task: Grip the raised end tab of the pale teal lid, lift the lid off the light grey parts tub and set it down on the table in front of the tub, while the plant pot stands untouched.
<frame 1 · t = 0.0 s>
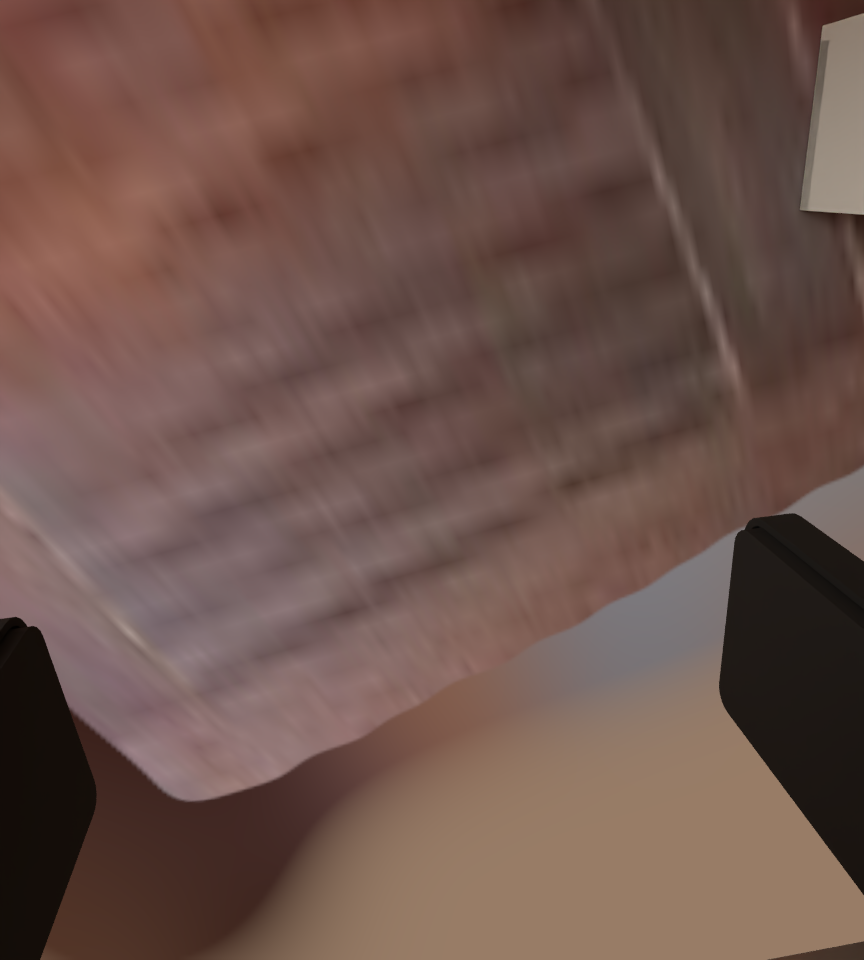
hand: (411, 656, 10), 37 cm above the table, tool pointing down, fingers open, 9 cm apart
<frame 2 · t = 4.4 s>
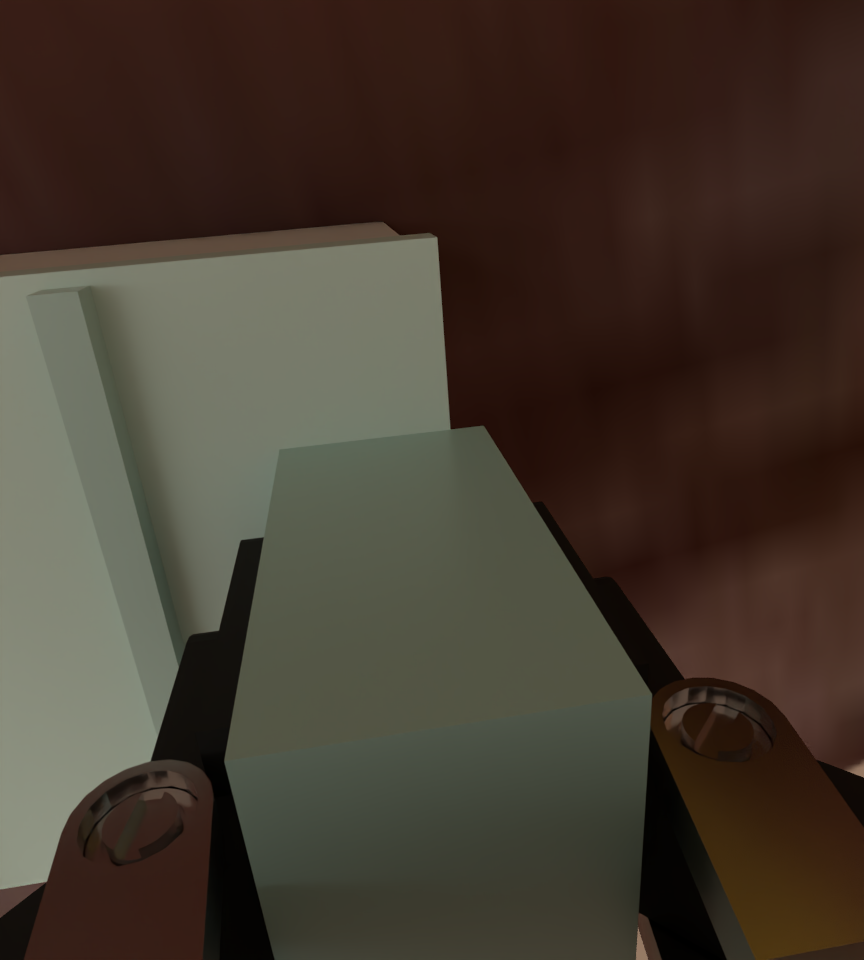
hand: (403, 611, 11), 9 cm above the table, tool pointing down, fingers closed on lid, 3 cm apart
tub: (126, 455, 18), on the table
lid: (15, 609, 12), point 7 cm above the table, touching gripper, tub
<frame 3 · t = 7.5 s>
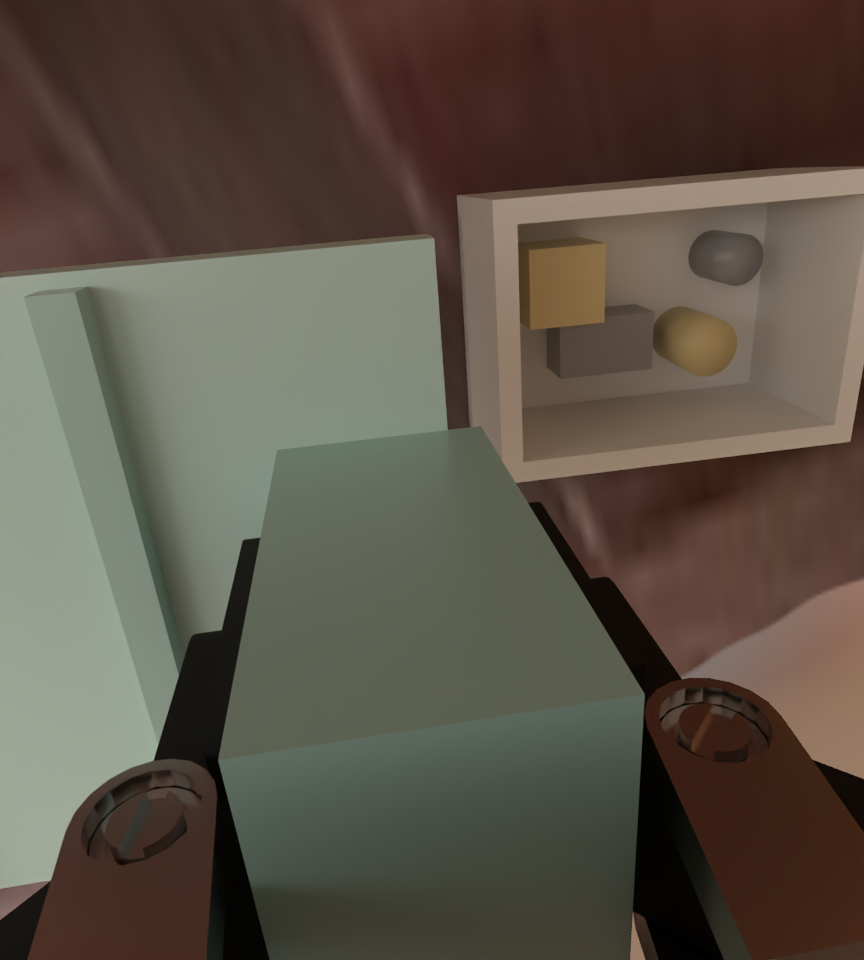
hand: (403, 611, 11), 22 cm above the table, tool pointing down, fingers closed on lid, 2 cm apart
tub: (617, 302, 32), on the table
lid: (14, 609, 12), point 20 cm above the table, touching gripper
when the fingers open (4 cm above the table, at t = 10.6 s): lid drops 1 cm, point 1 cm above the table.
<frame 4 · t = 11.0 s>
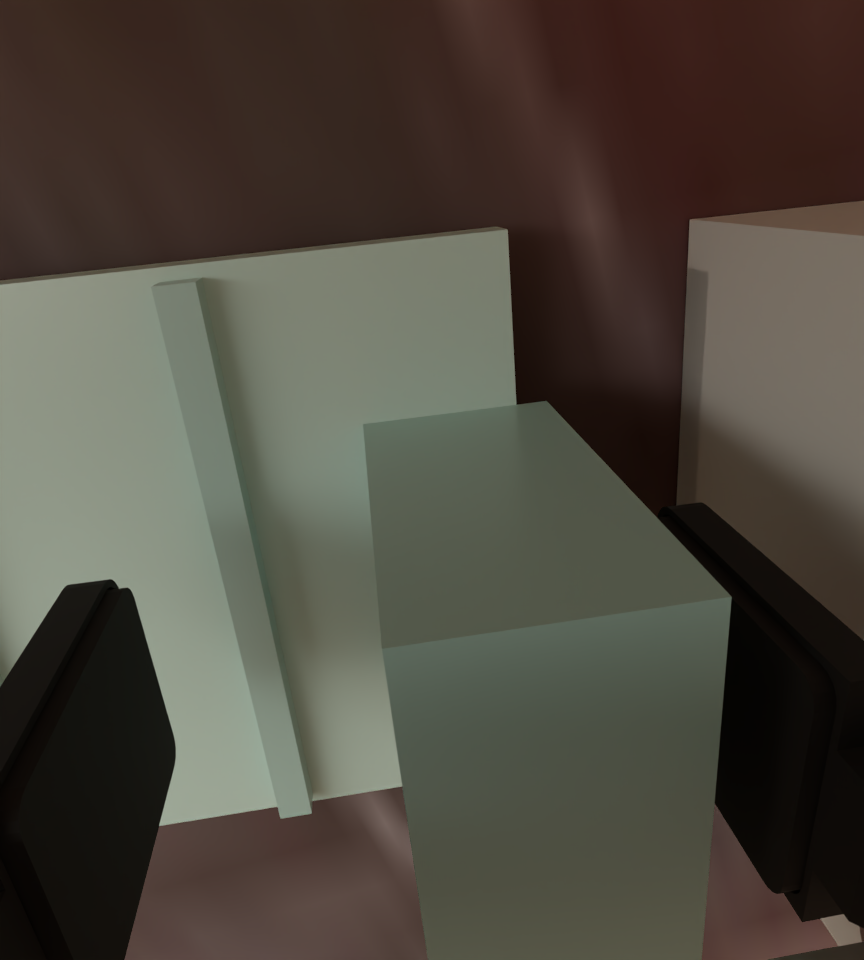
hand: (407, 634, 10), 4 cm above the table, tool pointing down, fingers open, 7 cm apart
lid: (119, 575, 13), point 1 cm above the table
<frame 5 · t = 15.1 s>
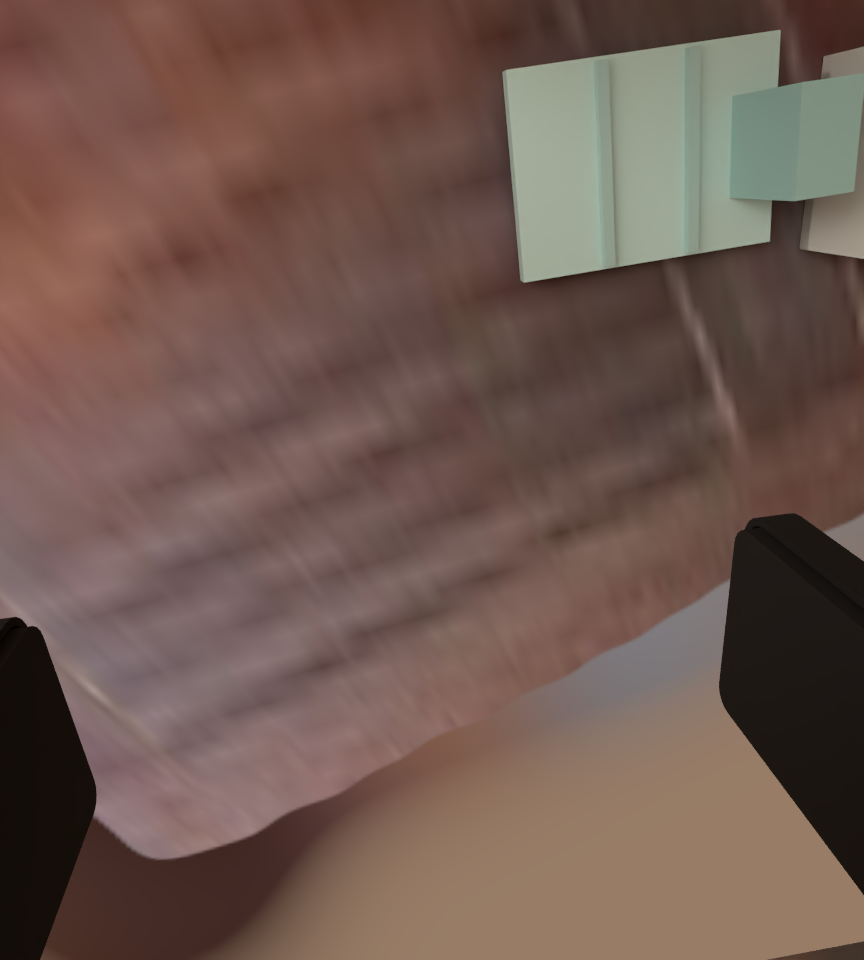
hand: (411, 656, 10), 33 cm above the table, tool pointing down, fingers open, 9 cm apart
lid: (640, 161, 39), point 1 cm above the table
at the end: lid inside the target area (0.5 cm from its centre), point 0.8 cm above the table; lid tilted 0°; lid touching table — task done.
